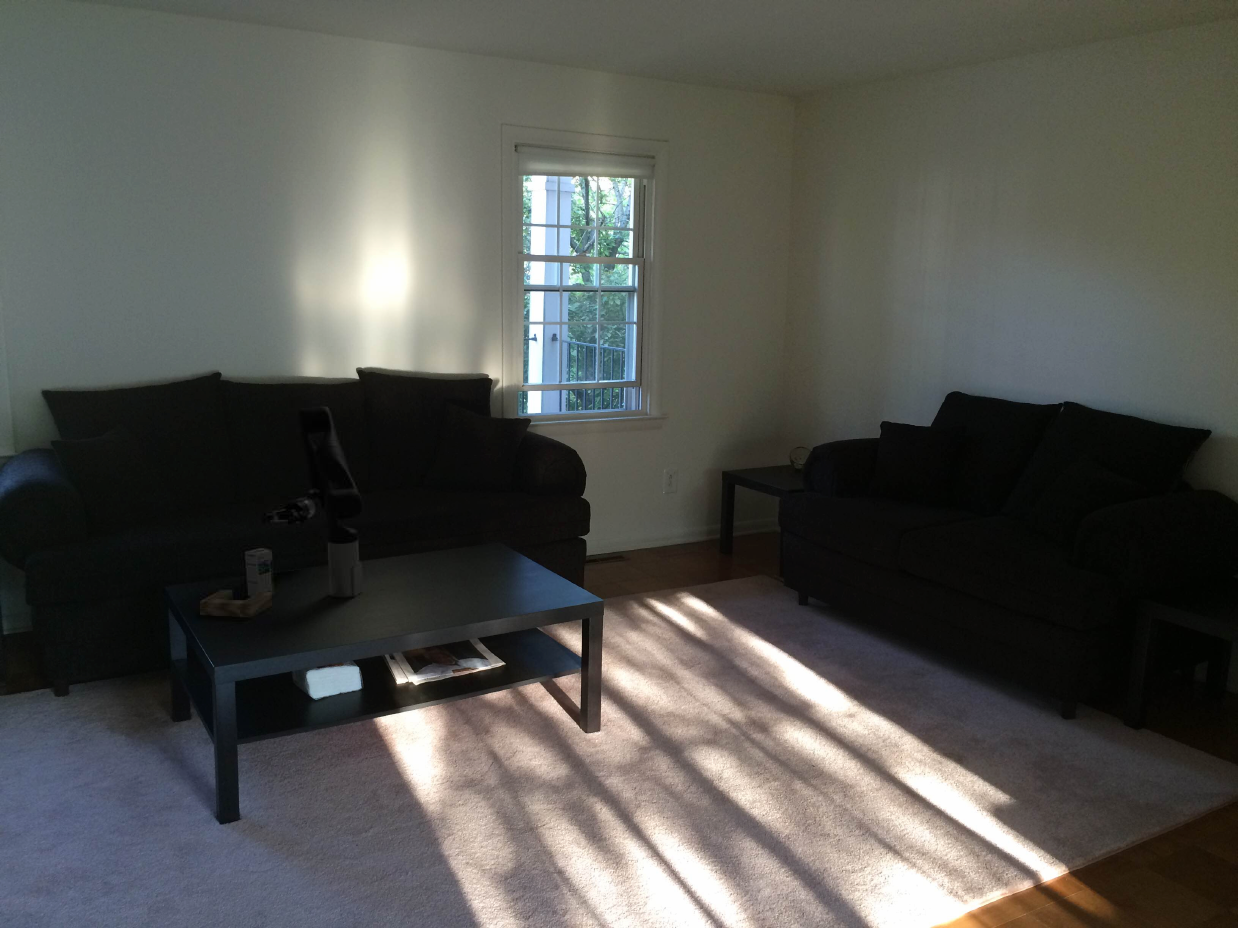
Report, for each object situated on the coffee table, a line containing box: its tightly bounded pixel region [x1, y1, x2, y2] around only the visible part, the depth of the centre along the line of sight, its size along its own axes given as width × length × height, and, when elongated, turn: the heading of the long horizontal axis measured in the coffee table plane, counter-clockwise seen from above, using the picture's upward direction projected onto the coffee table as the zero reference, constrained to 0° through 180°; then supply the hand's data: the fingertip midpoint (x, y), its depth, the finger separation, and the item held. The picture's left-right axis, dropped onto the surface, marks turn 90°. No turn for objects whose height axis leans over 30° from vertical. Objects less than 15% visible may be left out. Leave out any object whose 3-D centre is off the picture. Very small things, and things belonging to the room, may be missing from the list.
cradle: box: [199, 589, 273, 619], centre depth 293 cm, size 16×12×4 cm
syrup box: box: [244, 547, 275, 598], centre depth 306 cm, size 6×6×14 cm
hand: (276, 521), depth 316 cm, fingers open, 8 cm apart
